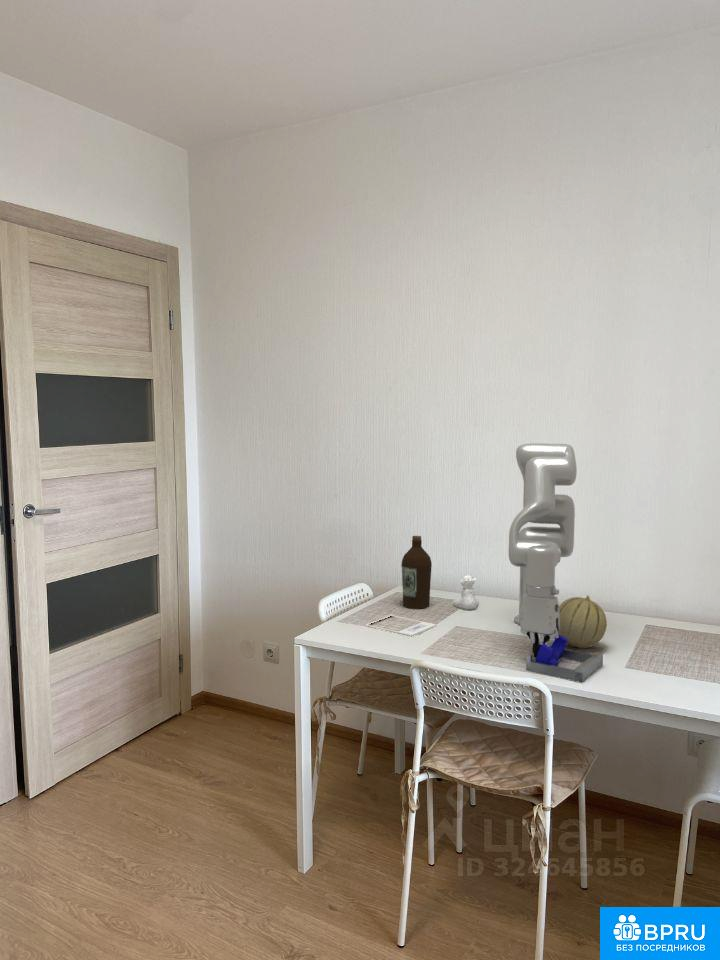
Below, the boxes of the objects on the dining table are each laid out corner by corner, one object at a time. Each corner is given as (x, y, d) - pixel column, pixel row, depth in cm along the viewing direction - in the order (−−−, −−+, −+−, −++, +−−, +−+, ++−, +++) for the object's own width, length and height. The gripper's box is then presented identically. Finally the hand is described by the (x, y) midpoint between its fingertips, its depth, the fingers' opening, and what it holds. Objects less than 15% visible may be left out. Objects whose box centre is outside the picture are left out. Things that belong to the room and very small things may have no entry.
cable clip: (548, 672, 192) (556, 653, 190) (533, 664, 194) (541, 644, 192) (565, 661, 201) (573, 642, 200) (551, 652, 204) (558, 634, 202)
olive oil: (415, 600, 266) (415, 532, 264) (437, 606, 258) (438, 536, 256) (395, 605, 259) (395, 536, 257) (417, 611, 251) (417, 539, 249)
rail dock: (550, 654, 206) (550, 640, 206) (602, 665, 197) (603, 651, 197) (525, 670, 194) (526, 655, 193) (580, 682, 185) (581, 667, 184)
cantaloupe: (544, 647, 213) (545, 596, 212) (567, 635, 224) (568, 588, 223) (592, 658, 203) (594, 605, 202) (614, 646, 214) (615, 596, 213)
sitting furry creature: (478, 604, 261) (478, 571, 260) (484, 611, 252) (484, 576, 251) (452, 605, 260) (452, 572, 259) (457, 611, 252) (457, 577, 250)
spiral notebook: (411, 634, 222) (364, 624, 233) (411, 638, 223) (364, 627, 234) (436, 623, 234) (391, 614, 245) (436, 627, 234) (391, 617, 245)
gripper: (572, 592, 196) (570, 659, 198) (520, 585, 205) (519, 648, 207) (560, 597, 190) (559, 666, 192) (508, 589, 200) (507, 655, 201)
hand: (538, 657), depth 199 cm, fingers closed
